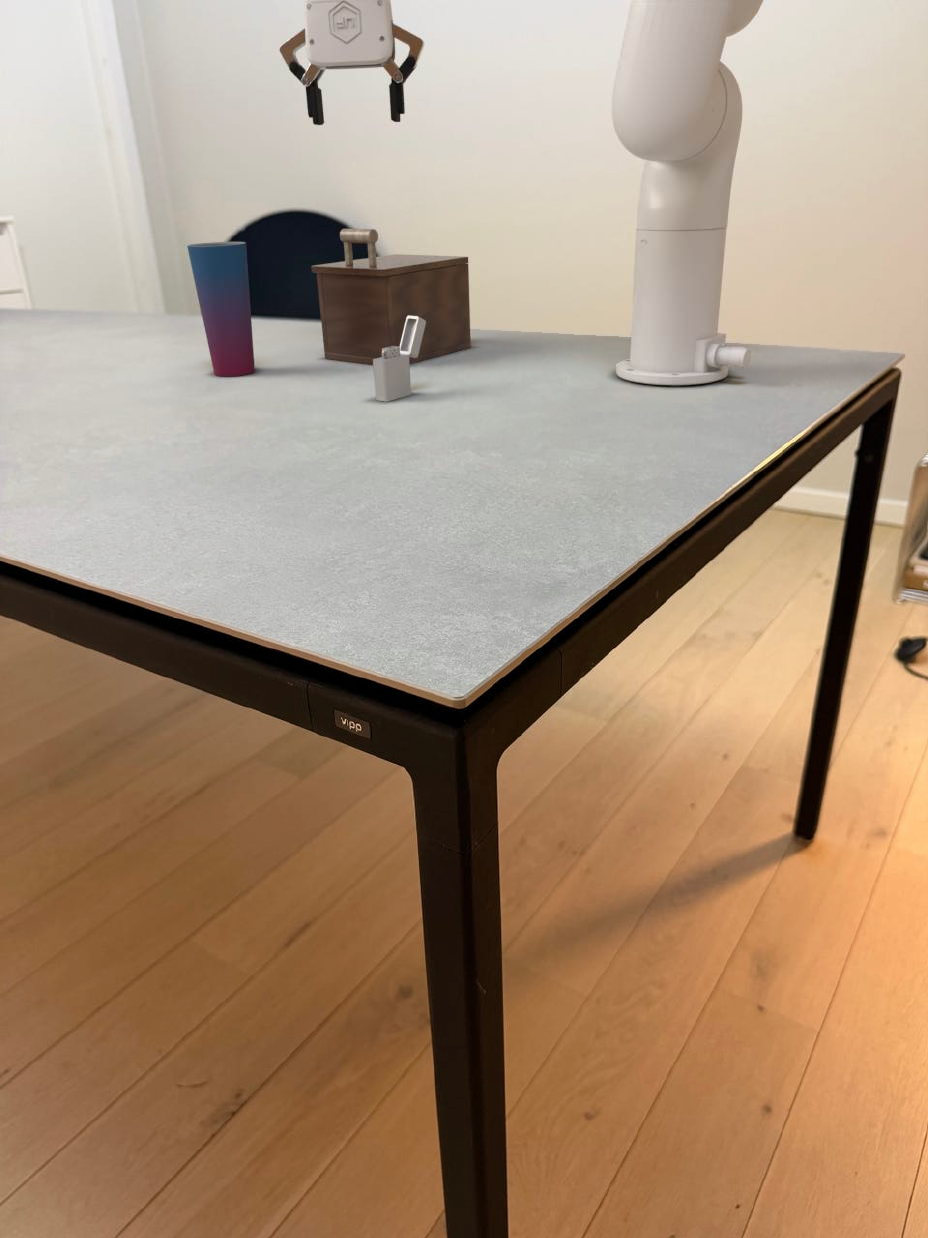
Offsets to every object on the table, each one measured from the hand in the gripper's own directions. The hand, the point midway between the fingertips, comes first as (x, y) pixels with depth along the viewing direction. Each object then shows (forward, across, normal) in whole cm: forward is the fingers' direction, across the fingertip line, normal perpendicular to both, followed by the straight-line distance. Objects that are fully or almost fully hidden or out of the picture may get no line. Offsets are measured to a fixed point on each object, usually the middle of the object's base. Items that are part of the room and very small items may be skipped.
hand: (357, 122), depth 113 cm
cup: (+28, -16, -12) cm, 34 cm away
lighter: (+28, +8, -26) cm, 39 cm away
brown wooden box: (+28, +4, -1) cm, 28 cm away
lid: (+17, +3, -1) cm, 17 cm away
